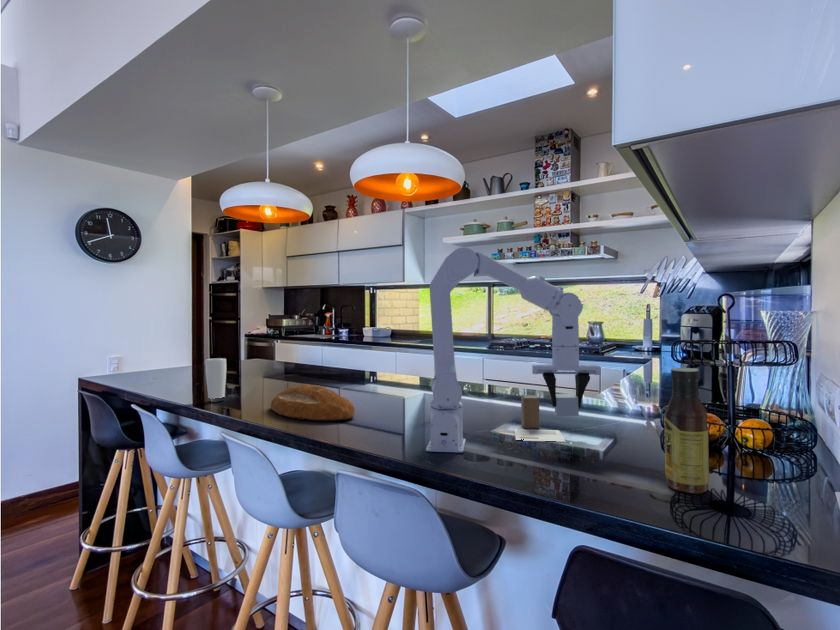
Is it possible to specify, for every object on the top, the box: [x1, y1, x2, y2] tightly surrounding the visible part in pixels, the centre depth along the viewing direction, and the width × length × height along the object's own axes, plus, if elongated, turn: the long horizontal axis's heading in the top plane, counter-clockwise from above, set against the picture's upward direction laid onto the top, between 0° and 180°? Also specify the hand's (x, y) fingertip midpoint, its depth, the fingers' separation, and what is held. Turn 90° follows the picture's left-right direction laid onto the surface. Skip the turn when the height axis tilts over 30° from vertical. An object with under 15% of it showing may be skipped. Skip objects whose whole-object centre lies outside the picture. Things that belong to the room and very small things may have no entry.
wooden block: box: [520, 394, 541, 430], centre depth 116 cm, size 4×4×8 cm
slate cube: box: [554, 393, 580, 417], centre depth 101 cm, size 4×4×4 cm
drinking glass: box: [204, 357, 227, 399], centre depth 158 cm, size 7×7×15 cm
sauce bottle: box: [663, 367, 710, 495], centre depth 74 cm, size 6×6×20 cm
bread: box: [270, 383, 356, 422], centre depth 137 cm, size 18×35×9 cm, turn 50°
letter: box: [513, 428, 566, 443], centre depth 108 cm, size 10×11×1 cm
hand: (566, 406), depth 101 cm, fingers closed on slate cube, 4 cm apart
